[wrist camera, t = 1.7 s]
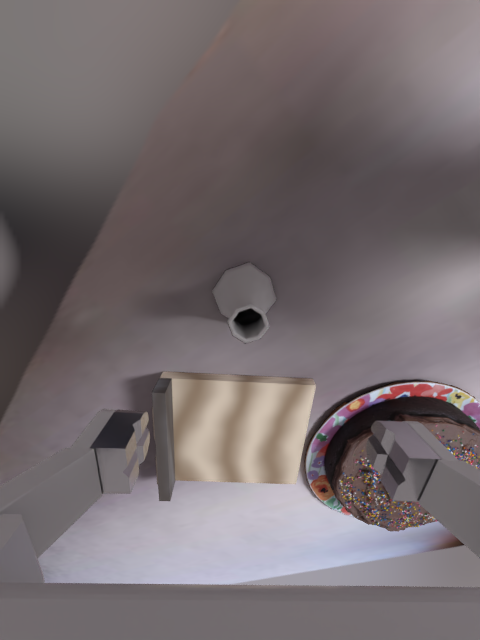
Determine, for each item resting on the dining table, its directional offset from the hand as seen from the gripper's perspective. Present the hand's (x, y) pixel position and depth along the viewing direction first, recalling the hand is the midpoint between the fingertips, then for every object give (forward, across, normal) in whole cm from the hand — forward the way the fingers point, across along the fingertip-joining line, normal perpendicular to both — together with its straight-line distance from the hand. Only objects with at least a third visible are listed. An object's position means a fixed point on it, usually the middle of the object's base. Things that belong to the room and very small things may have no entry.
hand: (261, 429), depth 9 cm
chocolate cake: (+21, -25, +24) cm, 41 cm away
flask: (+21, 0, 0) cm, 21 cm away
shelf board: (+21, 0, +20) cm, 29 cm away
